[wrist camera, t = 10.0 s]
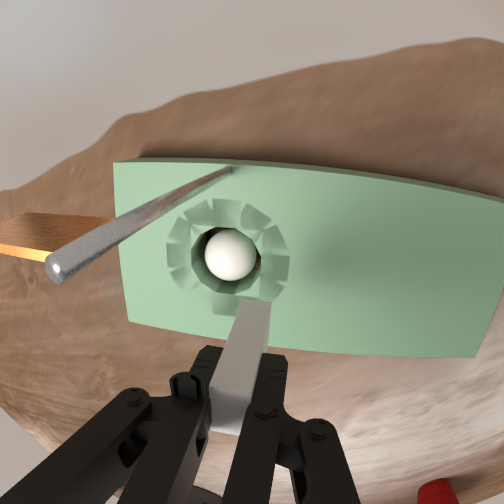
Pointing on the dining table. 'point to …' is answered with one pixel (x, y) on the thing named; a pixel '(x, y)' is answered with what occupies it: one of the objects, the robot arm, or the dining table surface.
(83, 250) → the flag
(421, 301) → the putting board
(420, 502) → the plastic cup
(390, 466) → the dining table surface
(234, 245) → the ball
